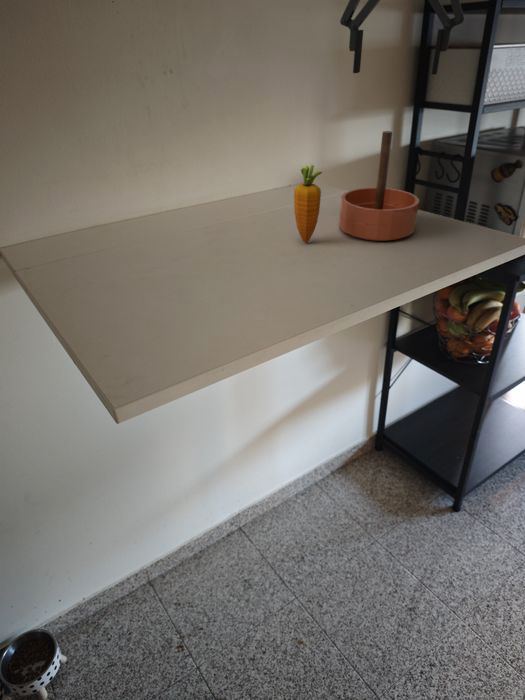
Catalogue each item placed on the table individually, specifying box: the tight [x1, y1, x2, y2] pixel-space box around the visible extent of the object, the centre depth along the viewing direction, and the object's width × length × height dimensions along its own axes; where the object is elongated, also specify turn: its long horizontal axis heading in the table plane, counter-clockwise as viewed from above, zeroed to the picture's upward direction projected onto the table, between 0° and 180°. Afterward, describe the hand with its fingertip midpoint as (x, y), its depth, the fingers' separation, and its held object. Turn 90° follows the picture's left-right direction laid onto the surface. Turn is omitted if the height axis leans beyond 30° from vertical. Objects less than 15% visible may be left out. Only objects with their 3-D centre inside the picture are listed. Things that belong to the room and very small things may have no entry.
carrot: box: [293, 164, 323, 244], centre depth 94 cm, size 5×5×15 cm
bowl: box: [338, 186, 420, 242], centre depth 103 cm, size 15×15×6 cm
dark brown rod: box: [374, 130, 393, 209], centre depth 99 cm, size 6×6×18 cm
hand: (394, 73), depth 89 cm, fingers open, 13 cm apart
